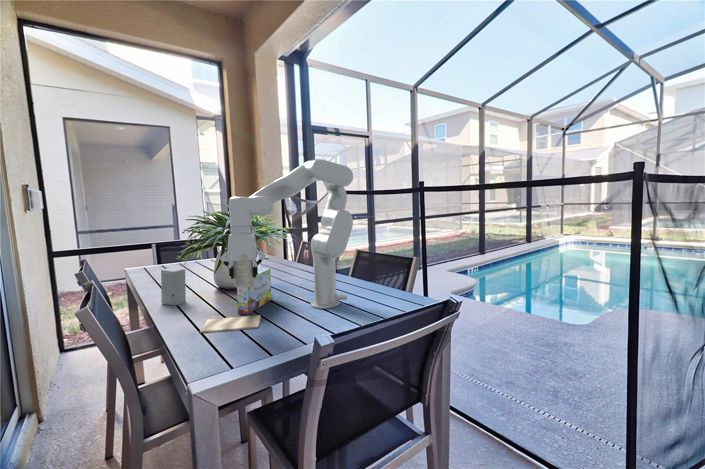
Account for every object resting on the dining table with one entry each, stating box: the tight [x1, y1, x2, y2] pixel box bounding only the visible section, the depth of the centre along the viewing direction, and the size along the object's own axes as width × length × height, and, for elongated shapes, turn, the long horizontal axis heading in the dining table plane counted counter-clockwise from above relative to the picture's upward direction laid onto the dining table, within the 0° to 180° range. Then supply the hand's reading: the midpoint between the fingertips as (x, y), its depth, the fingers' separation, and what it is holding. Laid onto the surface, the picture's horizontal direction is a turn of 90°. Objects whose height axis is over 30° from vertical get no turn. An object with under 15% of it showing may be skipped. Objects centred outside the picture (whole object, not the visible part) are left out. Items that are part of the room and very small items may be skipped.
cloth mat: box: [199, 314, 262, 334], centre depth 129 cm, size 20×12×1 cm, turn 101°
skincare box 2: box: [233, 255, 254, 288], centre depth 128 cm, size 6×4×12 cm
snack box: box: [236, 267, 272, 316], centre depth 149 cm, size 21×6×15 cm, turn 168°
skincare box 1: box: [160, 267, 187, 306], centre depth 156 cm, size 8×7×16 cm
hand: (243, 277), depth 128 cm, fingers closed on skincare box 2, 7 cm apart
